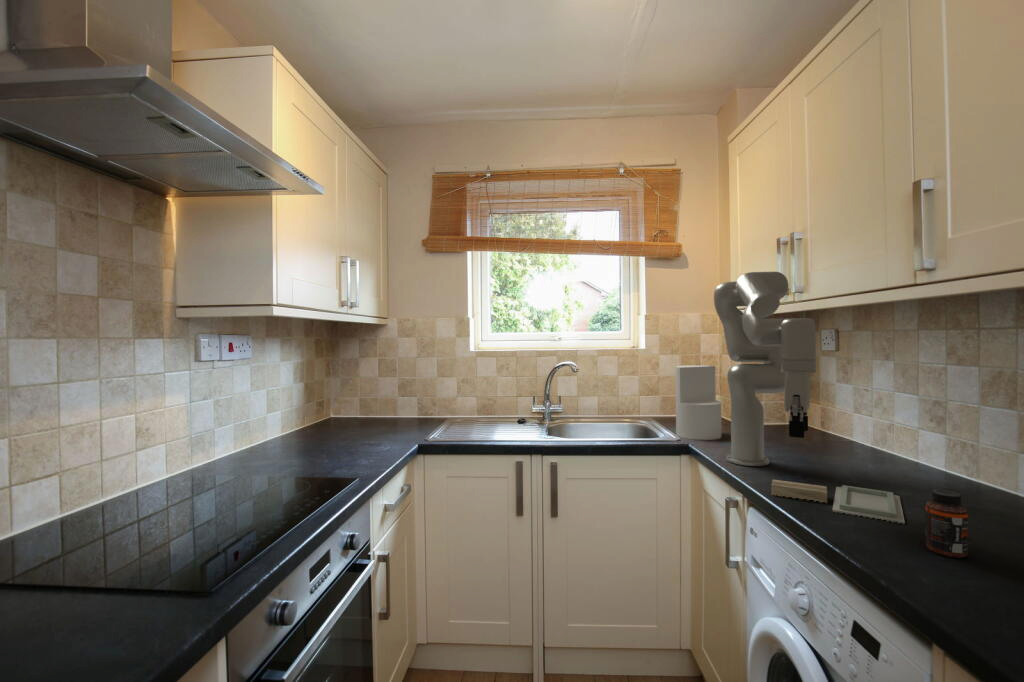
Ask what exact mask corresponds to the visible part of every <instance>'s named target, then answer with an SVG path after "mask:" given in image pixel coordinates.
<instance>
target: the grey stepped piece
mask: <svg viewBox="0 0 1024 682" xmlns="http://www.w3.org/2000/svg"><path fill="white" fill-rule="evenodd" d="M716 389H717V388H716V365H699V364H697V365H676V366H675V433H676V434H675V435H676V436H678V437H680V438H683V439H689V440H697V441H698V440H699V441H713V440H719V439H721V438H722V402H721V401H720V400H717V398H716V393H717V392H716Z"/></svg>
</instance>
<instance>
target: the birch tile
mask: <svg viewBox="0 0 1024 682" xmlns="http://www.w3.org/2000/svg"><path fill="white" fill-rule="evenodd" d="M771 481H772V482H771V484H770V485H771V489H770V491H771V493H770V495H771V496H776V495H777V496H778V497H783V496H785V497H784V498H789V497H792V498H791V499H796V498H799V499H798V500H803V499H807V500H806V501H809V500H814V501H813V502H816V501H819V502H818V503H823V502H825V503H824V504H828V489H827V488H828V487H827V486H825V485H816V484H809V483H802V482H794V481H786V480H778V479H772V480H771ZM777 496H776V497H777Z"/></svg>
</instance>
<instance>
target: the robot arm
mask: <svg viewBox="0 0 1024 682" xmlns="http://www.w3.org/2000/svg"><path fill="white" fill-rule="evenodd" d="M715 287H716V288H715V289H714V293H713V304H714V309H715V311H716V314H717V315H718V317H719V319H720V322H721V324H722V327H723V332H724V339H725V344H726V351H727V353H728V356H729V358H730V360H731V361H734V362H738V363H739V364H735V365H732V366H731V367H730V368H729V370H728V371H727V376H726V377H727V378H726V379H727V383H728V389H729V390H728V391H729V395H730V446H731V447H730V450H731V451H730V453H728V454H727V455H726V456H725V459H726V460H727V462H729V463H732V464H735V465H740V466H748V467H762V466H763V467H764V466H768V465H769V464H770V459H769V458H768V457H766V456H765V453H764V452H765V440H764V439H765V436H764V435H765V431H764V430H765V429H764V426H765V425H764V423H765V422H764V421H765V418H764V417H765V416H764V406H763V404H762V403H761V401H760V400H759V399H758V397H757V396H756V394H758V395H759V394H780V393H784V402H783V403H784V405H783V410H784V411H785V412H787V413H788V412H789V419H788V436H789V437H790V438H798V439H799V438H800V439H801V438H802V439H804V438H805V432H808V431H809V416H808V410H810V404H811V374H816V372H817V363H816V362H817V361H816V359H817V357H816V355H817V353H816V350H817V349H816V347H817V346H816V342H817V341H816V340H817V339H816V338H817V337H816V323H815V320H814V319H812V318H808V317H805V318H804V317H801V318H800V317H799V318H797V317H794V318H790V317H789V318H778V317H777V318H769V317H770V316H771V315H773V314H774V313H776V312H777V310H778V309H779V307H780V304H781V300H782V299H783V298H784V297H785V296H786V295H787V293H788V290H789V281H788V278H787V276H785V274H784V273H783V272H779V271H751V272H746V273H744V274H742V275H740V276H739V277H738V278H737V279H736V281H726V282H722V283H721V284H718V285H717V286H715ZM738 307H745V309H744V311H742V310H740V309H739V308H738Z"/></svg>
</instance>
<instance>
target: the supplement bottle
mask: <svg viewBox="0 0 1024 682" xmlns="http://www.w3.org/2000/svg"><path fill="white" fill-rule="evenodd" d="M931 497H932V499H930V500H927V501H926V503H925V546H926V548H927V549H928V550H929V551H931V552H933V553H935V554H938V555H941V556H945V557H949V558H958V559H959V558H960V559H961V558H962V559H963V558H966V557H967V556H968V554H969V511H968V509H967V508H966V506H964V505H963V504H962V496H961V494H960V493H959V492H956V491H953V490H952V491H951V490H946V489H932V494H931Z"/></svg>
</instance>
